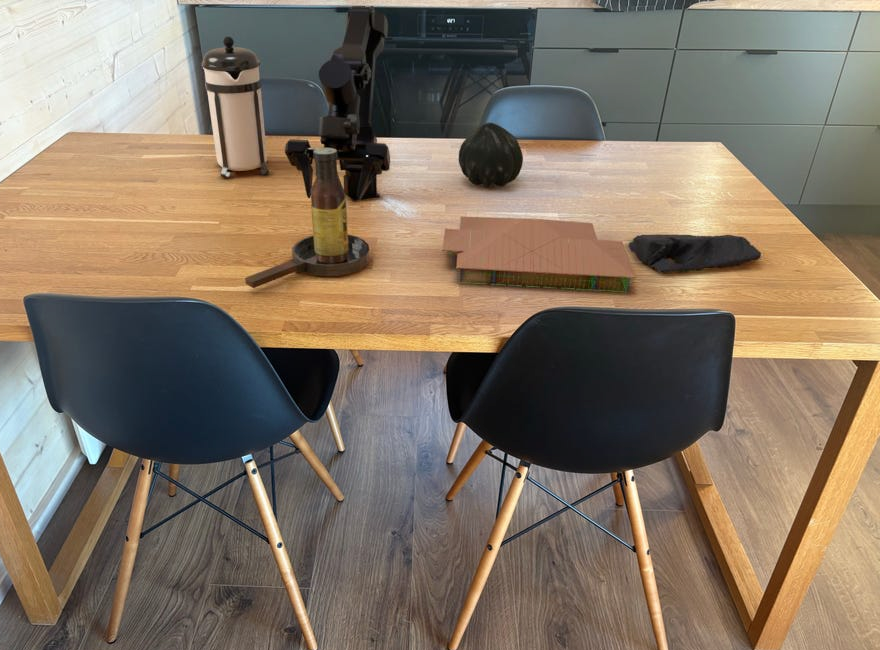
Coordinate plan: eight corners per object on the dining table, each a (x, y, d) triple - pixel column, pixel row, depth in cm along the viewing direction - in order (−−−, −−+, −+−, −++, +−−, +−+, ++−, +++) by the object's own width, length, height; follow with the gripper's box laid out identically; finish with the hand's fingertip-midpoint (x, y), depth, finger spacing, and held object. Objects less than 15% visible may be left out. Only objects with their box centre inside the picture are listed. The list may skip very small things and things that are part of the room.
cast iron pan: (352, 240, 137) (352, 228, 135) (381, 269, 126) (381, 256, 125) (283, 252, 132) (282, 240, 130) (307, 284, 121) (306, 271, 120)
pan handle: (296, 266, 125) (295, 257, 124) (305, 271, 124) (305, 262, 123) (245, 286, 119) (244, 277, 118) (254, 292, 117) (253, 282, 116)
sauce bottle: (352, 263, 127) (349, 155, 116) (319, 268, 126) (312, 158, 115) (343, 249, 132) (339, 143, 121) (310, 253, 131) (303, 147, 120)
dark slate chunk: (769, 272, 126) (778, 248, 124) (652, 276, 125) (658, 252, 122) (729, 238, 139) (736, 215, 137) (622, 241, 137) (626, 218, 135)
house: (445, 231, 141) (447, 192, 136) (612, 239, 138) (620, 200, 134) (439, 283, 122) (441, 240, 117) (632, 294, 119) (642, 250, 115)
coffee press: (289, 166, 174) (279, 34, 157) (245, 184, 162) (228, 44, 146) (237, 153, 181) (222, 27, 165) (191, 170, 170) (170, 36, 153)
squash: (515, 146, 171) (481, 102, 162) (543, 167, 159) (509, 121, 150) (472, 187, 174) (436, 146, 164) (497, 211, 162) (461, 168, 153)
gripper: (282, 93, 122) (271, 176, 120) (388, 97, 121) (379, 181, 118) (296, 126, 133) (287, 202, 130) (393, 130, 132) (386, 208, 129)
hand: (333, 198), depth 127 cm, fingers open, 9 cm apart
